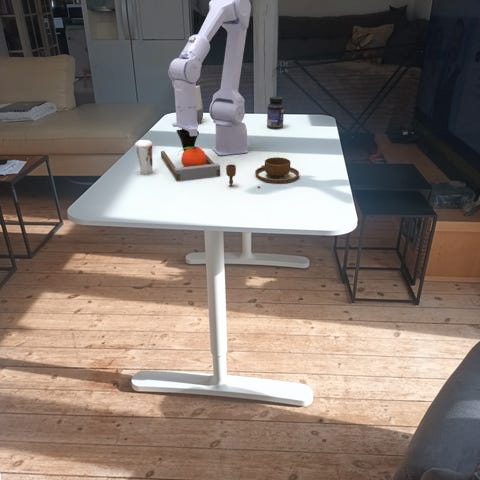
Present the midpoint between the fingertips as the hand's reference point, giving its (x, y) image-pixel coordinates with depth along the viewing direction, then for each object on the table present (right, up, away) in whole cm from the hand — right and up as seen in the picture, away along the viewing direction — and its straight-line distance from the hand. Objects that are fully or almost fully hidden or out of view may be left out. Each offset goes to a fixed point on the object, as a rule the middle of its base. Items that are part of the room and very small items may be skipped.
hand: (188, 155), depth 126 cm
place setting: (+21, -8, -5) cm, 23 cm away
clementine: (+1, -5, -2) cm, 5 cm away
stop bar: (+3, -7, -6) cm, 10 cm away
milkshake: (-11, -5, -2) cm, 13 cm away
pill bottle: (+28, +19, +43) cm, 54 cm away
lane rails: (0, -3, +2) cm, 3 cm away
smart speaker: (-5, +22, +50) cm, 54 cm away
